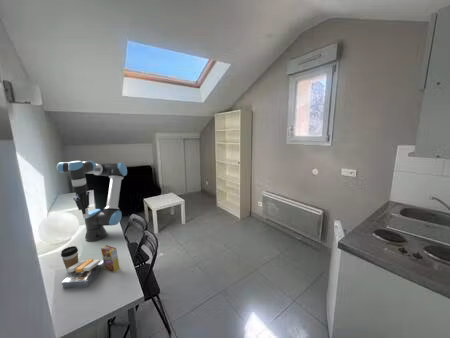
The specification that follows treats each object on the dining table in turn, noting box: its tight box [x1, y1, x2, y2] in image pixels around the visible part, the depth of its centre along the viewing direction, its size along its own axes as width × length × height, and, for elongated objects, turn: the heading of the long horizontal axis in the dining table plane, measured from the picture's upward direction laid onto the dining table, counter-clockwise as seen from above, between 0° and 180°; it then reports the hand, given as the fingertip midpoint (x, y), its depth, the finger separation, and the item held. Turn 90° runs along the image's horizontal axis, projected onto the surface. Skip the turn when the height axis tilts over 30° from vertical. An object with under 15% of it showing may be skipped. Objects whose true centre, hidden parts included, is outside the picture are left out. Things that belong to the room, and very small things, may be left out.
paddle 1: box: [68, 259, 87, 272], centre depth 117 cm, size 11×3×2 cm, turn 3°
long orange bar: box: [75, 258, 94, 272], centre depth 117 cm, size 11×3×2 cm, turn 3°
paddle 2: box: [84, 259, 102, 271], centre depth 118 cm, size 11×3×2 cm, turn 3°
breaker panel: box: [61, 259, 105, 289], centre depth 118 cm, size 18×14×5 cm
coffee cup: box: [60, 245, 79, 274], centre depth 122 cm, size 8×8×15 cm
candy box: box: [100, 244, 120, 273], centre depth 122 cm, size 9×4×15 cm, turn 69°
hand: (86, 217), depth 131 cm, fingers closed
